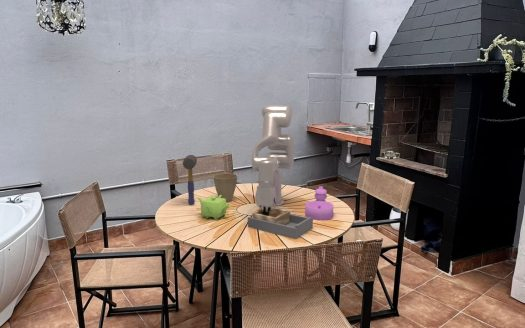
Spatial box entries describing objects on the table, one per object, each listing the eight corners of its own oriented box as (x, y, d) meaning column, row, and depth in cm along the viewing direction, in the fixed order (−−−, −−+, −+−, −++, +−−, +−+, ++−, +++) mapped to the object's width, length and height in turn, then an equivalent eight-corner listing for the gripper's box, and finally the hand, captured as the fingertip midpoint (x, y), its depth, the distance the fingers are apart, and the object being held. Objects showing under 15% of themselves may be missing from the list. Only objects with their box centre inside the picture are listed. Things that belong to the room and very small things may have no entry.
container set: (332, 221, 200) (333, 197, 197) (304, 219, 203) (304, 195, 200) (333, 207, 224) (334, 185, 222) (307, 205, 227) (308, 184, 224)
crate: (252, 224, 191) (252, 213, 190) (267, 216, 203) (267, 206, 202) (275, 229, 184) (275, 218, 183) (290, 221, 195) (290, 211, 194)
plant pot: (209, 200, 237) (208, 175, 234) (228, 195, 247) (227, 172, 244) (223, 205, 227) (222, 179, 224) (242, 200, 236) (242, 176, 233)
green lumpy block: (197, 214, 210) (196, 195, 208) (221, 211, 216) (220, 192, 214) (205, 222, 197) (205, 202, 195) (230, 218, 203) (230, 198, 201)
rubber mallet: (186, 201, 235) (184, 153, 229) (198, 201, 235) (197, 153, 229) (183, 207, 223) (181, 157, 217) (196, 207, 223) (194, 157, 217)
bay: (247, 226, 191) (247, 215, 190) (266, 217, 205) (266, 207, 204) (295, 238, 176) (296, 226, 175) (312, 228, 190) (312, 216, 189)
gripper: (249, 183, 192) (249, 217, 196) (274, 187, 184) (274, 223, 188) (257, 180, 198) (257, 214, 202) (282, 184, 191) (282, 219, 194)
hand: (265, 218), depth 195 cm, fingers closed
